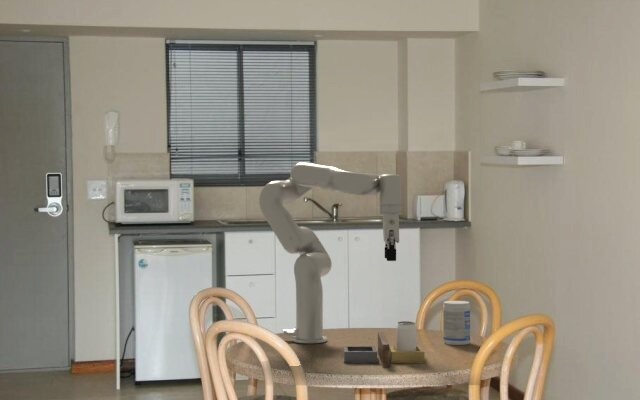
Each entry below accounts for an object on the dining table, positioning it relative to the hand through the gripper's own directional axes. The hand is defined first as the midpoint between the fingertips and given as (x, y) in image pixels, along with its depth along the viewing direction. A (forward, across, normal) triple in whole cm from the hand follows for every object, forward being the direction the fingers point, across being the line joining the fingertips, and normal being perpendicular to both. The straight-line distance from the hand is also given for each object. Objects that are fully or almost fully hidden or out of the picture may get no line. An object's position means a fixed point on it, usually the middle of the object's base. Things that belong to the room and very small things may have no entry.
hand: (390, 259), depth 335 cm
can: (+31, -23, -3) cm, 38 cm away
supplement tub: (+31, +7, -24) cm, 39 cm away
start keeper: (+30, -23, +12) cm, 40 cm away
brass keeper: (+30, -23, -4) cm, 38 cm away
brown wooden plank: (+30, -23, +4) cm, 38 cm away
